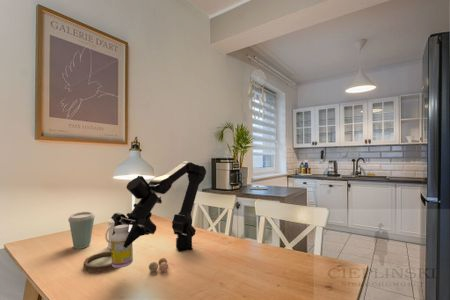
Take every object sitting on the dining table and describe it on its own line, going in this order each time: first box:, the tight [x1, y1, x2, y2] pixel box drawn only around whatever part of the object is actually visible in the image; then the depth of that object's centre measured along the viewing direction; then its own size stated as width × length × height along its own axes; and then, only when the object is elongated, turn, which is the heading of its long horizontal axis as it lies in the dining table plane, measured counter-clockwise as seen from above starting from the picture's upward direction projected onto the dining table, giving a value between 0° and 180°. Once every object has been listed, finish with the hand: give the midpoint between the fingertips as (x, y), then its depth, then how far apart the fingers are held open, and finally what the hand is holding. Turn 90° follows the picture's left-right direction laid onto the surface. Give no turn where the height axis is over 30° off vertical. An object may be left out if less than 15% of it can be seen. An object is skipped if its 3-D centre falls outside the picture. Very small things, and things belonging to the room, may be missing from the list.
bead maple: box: [148, 261, 159, 273], centre depth 86 cm, size 3×3×3 cm
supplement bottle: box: [110, 225, 134, 269], centre depth 81 cm, size 7×7×13 cm
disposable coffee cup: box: [67, 211, 95, 250], centre depth 110 cm, size 11×11×15 cm
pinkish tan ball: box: [158, 262, 169, 273], centre depth 86 cm, size 3×3×3 cm
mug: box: [104, 218, 115, 250], centre depth 109 cm, size 12×8×12 cm
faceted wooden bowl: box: [82, 251, 117, 274], centre depth 92 cm, size 14×14×2 cm
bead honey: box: [157, 257, 168, 267], centre depth 90 cm, size 3×3×3 cm
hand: (118, 245), depth 80 cm, fingers closed on supplement bottle, 6 cm apart
